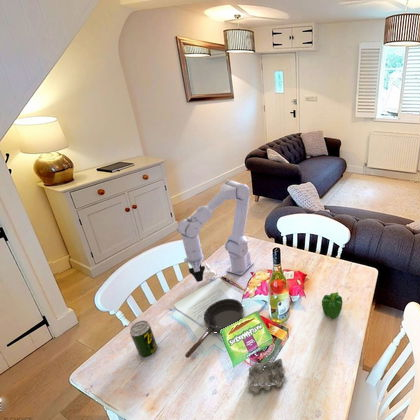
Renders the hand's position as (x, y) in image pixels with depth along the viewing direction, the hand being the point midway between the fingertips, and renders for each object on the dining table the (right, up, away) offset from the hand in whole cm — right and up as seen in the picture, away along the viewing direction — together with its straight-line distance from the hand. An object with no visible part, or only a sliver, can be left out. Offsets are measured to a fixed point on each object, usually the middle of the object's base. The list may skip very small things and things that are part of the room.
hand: (199, 275), depth 112 cm
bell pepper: (+55, -15, -4) cm, 57 cm away
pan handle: (+9, -19, -19) cm, 28 cm away
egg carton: (+34, -26, -28) cm, 51 cm away
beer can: (-7, -21, -21) cm, 30 cm away
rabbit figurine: (-2, -4, +14) cm, 15 cm away
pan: (+14, -15, -8) cm, 22 cm away
